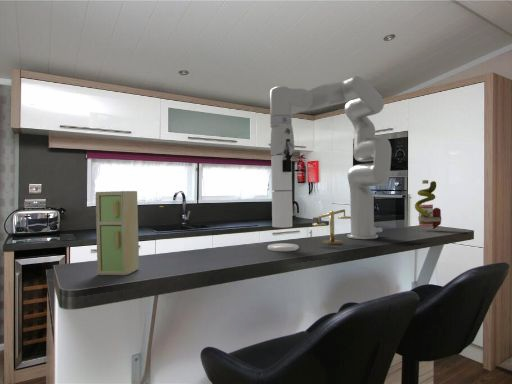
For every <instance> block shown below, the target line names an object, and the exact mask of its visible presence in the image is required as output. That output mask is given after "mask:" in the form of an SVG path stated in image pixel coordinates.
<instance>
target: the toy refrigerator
mask: <svg viewBox="0 0 512 384" xmlns="http://www.w3.org/2000/svg"><path fill="white" fill-rule="evenodd" d="M138 214H139V210H138V191H137V190H119V191H116V190H115V191H112V190H111V191H96V192H95V225H96V226H95V228H96V254H97V255H96V261H97V263H96V264H97V267H96V268H97V269H96V270H97V275H99V276H127V275H129V274H131V273H134V272H135V271H138V270H139V269H140V254H139V251H140V250H139V249H140V248H139V247H140V246H139V216H138Z"/></svg>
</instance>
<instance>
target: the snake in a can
mask: <svg viewBox="0 0 512 384" xmlns="http://www.w3.org/2000/svg"><path fill="white" fill-rule="evenodd" d="M421 182H422V184H423V185H424V184H425V185H427V184H429V180H428V179H424V180H423V179H422V181H421ZM436 188H437V182H436V181H434V180H432V181H431V182H430V184H429V187H428V188H424V189H420V190H417V195H418V196H419V197H424V198H422V199H419V200H418V201H416V202H415V204H414V209H415V210H416V211H417V212H418V216H417V217H418V218H417V219H418V224H419V227H432V228H433V230H434V229H437V228H438V227H439V226H441V224H442V212H441V211H442V210H441V208H440V207H434V205H433V204H425V203H427V202H430V201H433V200H435V199H436V195H435V194H434V193H433V192H435V190H436Z"/></svg>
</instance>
